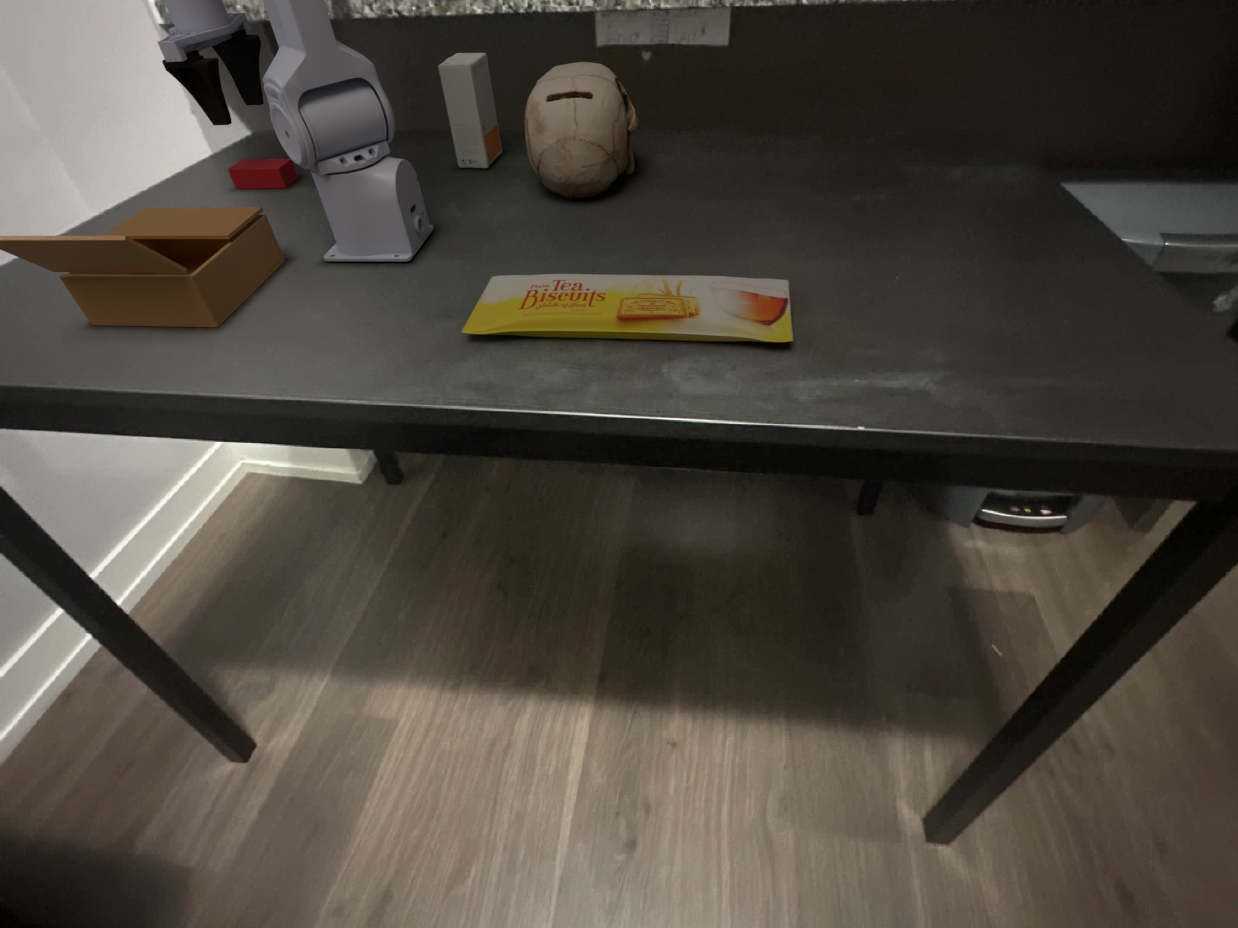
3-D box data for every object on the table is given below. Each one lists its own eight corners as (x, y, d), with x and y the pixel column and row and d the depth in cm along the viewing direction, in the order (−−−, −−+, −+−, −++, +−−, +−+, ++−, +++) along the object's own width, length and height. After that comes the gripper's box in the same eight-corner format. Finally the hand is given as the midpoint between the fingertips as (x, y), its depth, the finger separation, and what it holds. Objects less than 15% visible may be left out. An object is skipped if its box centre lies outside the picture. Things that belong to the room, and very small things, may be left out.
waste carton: (285, 260, 72) (262, 206, 68) (218, 327, 62) (187, 268, 58) (173, 260, 73) (144, 207, 70) (91, 325, 64) (53, 268, 60)
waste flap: (125, 235, 52) (124, 240, 52) (187, 268, 59) (186, 273, 59) (-21, 235, 54) (-22, 240, 54) (54, 267, 60) (53, 272, 60)
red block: (298, 177, 90) (291, 158, 88) (286, 188, 87) (278, 168, 86) (249, 178, 91) (241, 159, 89) (236, 189, 88) (227, 169, 86)
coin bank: (603, 141, 92) (598, 29, 82) (676, 195, 82) (679, 75, 72) (498, 174, 87) (478, 59, 77) (561, 235, 78) (548, 112, 67)
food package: (456, 321, 56) (489, 264, 64) (462, 344, 58) (494, 286, 65) (795, 329, 52) (790, 267, 60) (792, 354, 54) (787, 291, 61)
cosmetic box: (489, 169, 88) (469, 64, 80) (458, 168, 89) (435, 65, 81) (504, 152, 92) (487, 51, 84) (474, 152, 93) (455, 52, 85)
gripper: (189, -31, 80) (240, 97, 89) (107, -7, 69) (174, 134, 79) (245, -34, 79) (290, 95, 88) (170, -11, 68) (230, 133, 78)
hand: (239, 114), depth 83 cm, fingers open, 7 cm apart
